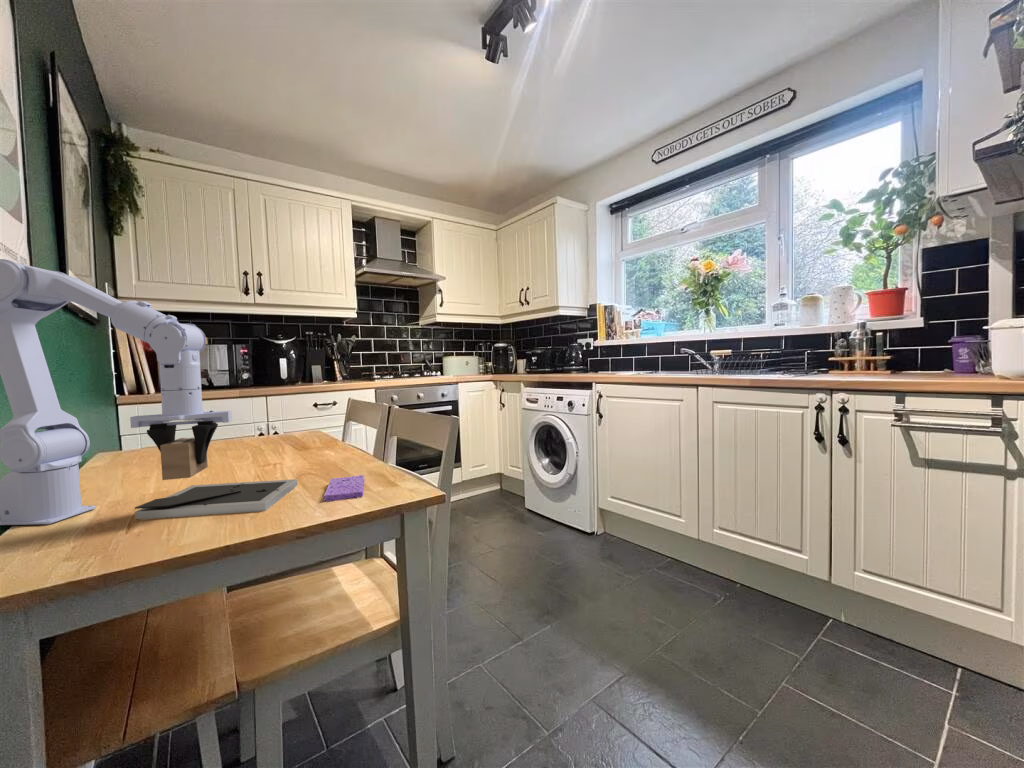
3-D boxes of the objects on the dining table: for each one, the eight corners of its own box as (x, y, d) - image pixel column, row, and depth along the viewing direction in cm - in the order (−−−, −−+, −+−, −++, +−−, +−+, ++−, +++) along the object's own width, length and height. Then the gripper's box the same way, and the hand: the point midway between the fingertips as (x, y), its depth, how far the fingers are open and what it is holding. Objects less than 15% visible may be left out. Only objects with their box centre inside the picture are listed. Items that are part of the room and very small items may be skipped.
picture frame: (135, 523, 70) (265, 514, 73) (134, 507, 70) (265, 498, 73) (192, 495, 85) (297, 488, 89) (191, 481, 85) (297, 475, 88)
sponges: (364, 482, 92) (364, 474, 91) (363, 499, 80) (362, 490, 80) (330, 486, 89) (330, 478, 89) (323, 504, 77) (323, 494, 77)
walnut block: (182, 469, 77) (180, 437, 77) (207, 467, 78) (205, 435, 78) (162, 480, 70) (160, 444, 69) (190, 477, 71) (188, 442, 71)
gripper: (118, 392, 67) (123, 473, 68) (221, 389, 72) (225, 464, 73) (140, 390, 74) (145, 464, 75) (233, 387, 79) (237, 456, 79)
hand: (186, 464), depth 74 cm, fingers closed on walnut block, 4 cm apart
